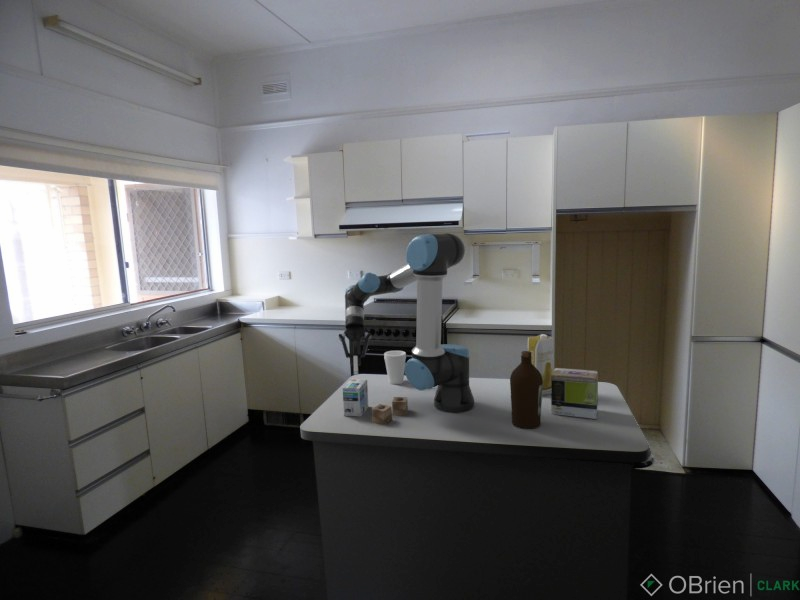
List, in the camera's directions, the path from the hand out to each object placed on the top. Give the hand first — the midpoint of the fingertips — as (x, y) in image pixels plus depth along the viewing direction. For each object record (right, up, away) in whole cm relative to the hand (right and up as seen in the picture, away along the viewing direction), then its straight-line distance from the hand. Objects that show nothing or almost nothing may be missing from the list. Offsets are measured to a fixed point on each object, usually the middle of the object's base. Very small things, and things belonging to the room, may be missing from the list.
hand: (355, 372), depth 178 cm
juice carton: (+72, -10, +14) cm, 74 cm away
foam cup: (+15, -9, +34) cm, 38 cm away
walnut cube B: (+10, -16, -8) cm, 20 cm away
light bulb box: (0, -15, +2) cm, 15 cm away
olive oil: (+59, -15, -15) cm, 63 cm away
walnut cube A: (+16, -14, -1) cm, 22 cm away
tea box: (+79, -13, -7) cm, 80 cm away
